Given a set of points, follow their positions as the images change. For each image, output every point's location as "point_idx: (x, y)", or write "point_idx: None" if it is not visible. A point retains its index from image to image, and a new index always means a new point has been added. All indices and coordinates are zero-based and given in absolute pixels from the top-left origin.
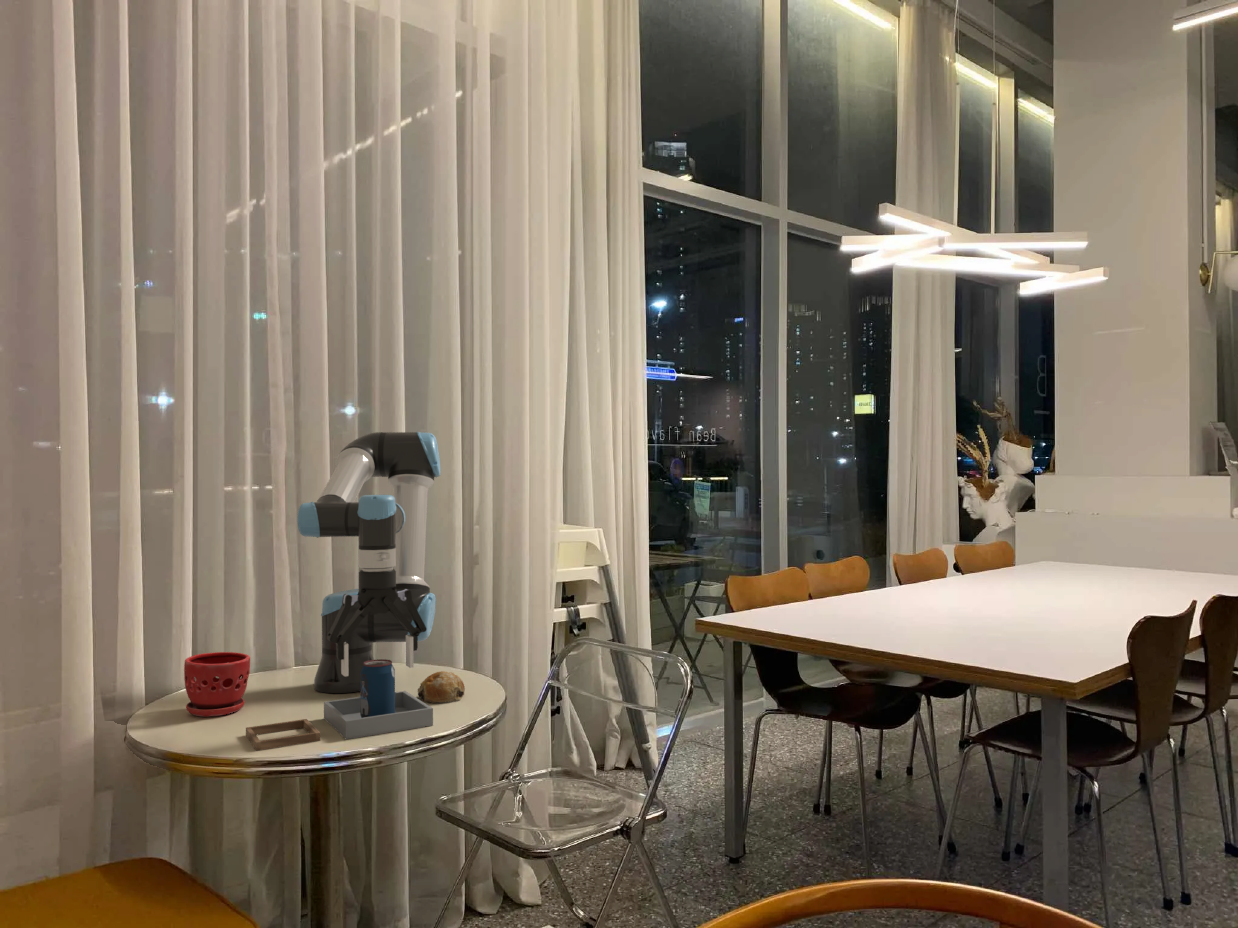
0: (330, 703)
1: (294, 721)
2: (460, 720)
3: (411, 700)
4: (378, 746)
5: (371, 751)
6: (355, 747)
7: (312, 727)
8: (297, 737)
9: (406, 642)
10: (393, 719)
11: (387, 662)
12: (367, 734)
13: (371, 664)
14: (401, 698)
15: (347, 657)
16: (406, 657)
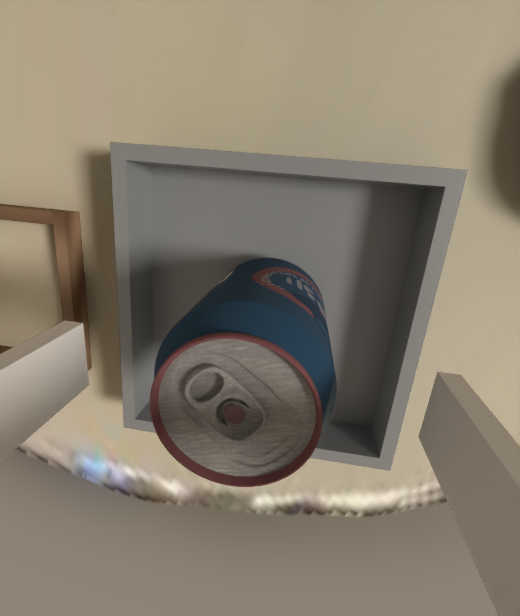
0: (135, 161)
1: (28, 220)
2: None
3: (413, 298)
4: (194, 486)
5: (171, 502)
6: (150, 461)
7: (68, 318)
8: None
9: (516, 511)
10: None
11: (299, 414)
12: None
13: (204, 388)
14: (428, 187)
15: (6, 451)
16: (455, 412)
